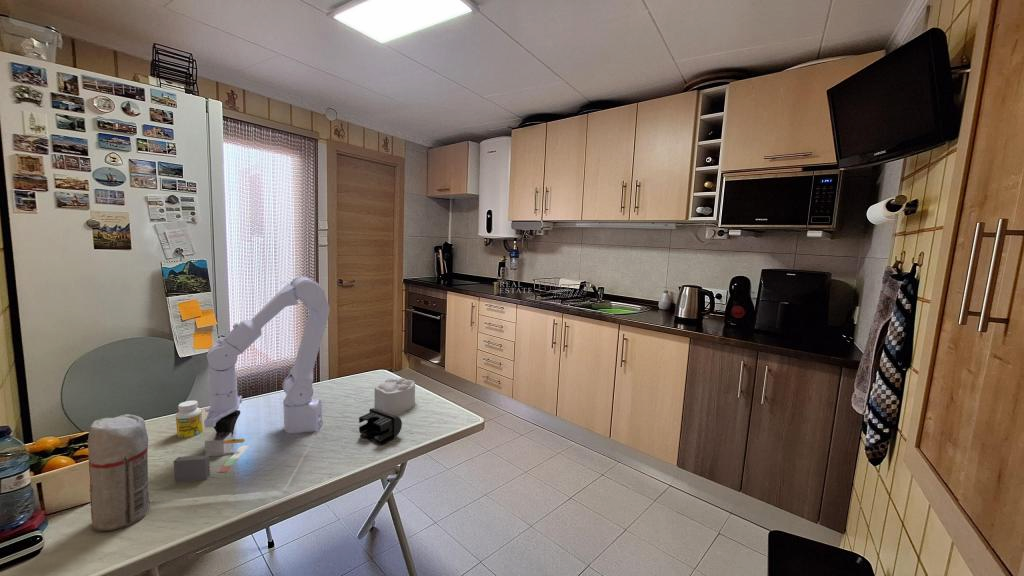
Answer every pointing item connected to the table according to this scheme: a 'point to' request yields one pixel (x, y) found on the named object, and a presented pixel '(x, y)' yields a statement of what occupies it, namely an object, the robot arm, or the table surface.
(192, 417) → the supplement bottle
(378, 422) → the end cap
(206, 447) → the grey block
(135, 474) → the paper flour sack
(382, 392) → the lumpy-topped squat cylinder
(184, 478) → the gauge board
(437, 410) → the table surface
